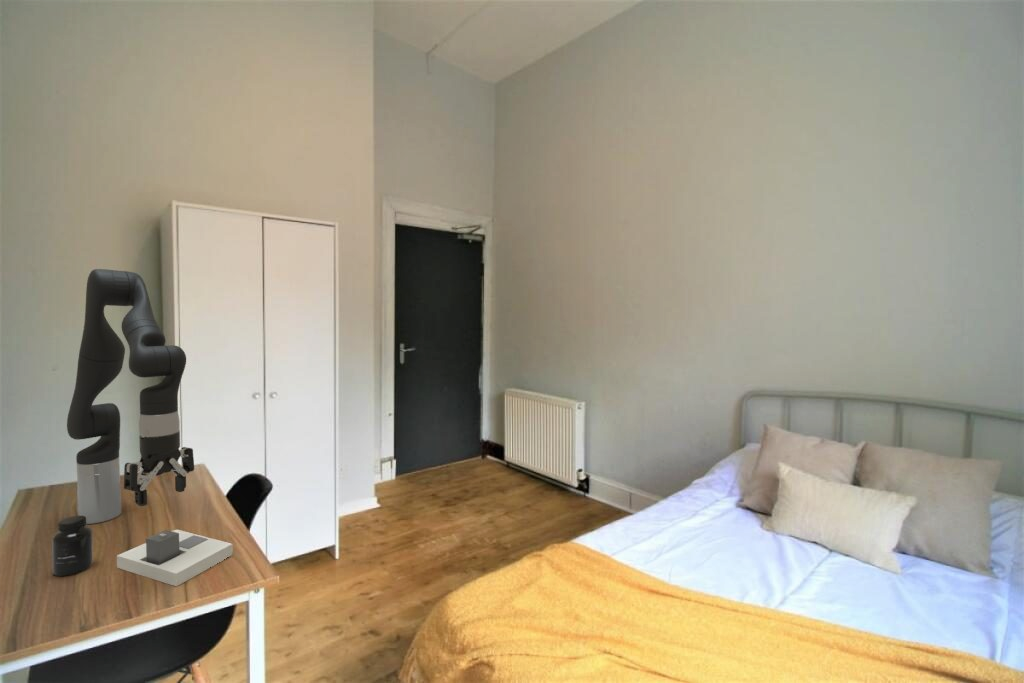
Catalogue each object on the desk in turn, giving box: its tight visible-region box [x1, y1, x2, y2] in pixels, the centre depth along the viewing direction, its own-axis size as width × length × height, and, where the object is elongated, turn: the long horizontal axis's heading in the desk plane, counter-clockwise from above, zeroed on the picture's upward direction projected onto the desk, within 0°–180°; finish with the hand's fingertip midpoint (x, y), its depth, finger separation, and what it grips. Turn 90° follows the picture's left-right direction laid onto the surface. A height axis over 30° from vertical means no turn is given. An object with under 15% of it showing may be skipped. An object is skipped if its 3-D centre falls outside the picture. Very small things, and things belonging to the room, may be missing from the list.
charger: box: [145, 529, 180, 566], centre depth 110 cm, size 4×4×8 cm
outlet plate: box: [116, 529, 234, 587], centre depth 113 cm, size 20×14×3 cm
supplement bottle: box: [51, 515, 93, 577], centre depth 108 cm, size 7×7×12 cm
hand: (161, 498), depth 109 cm, fingers open, 8 cm apart
